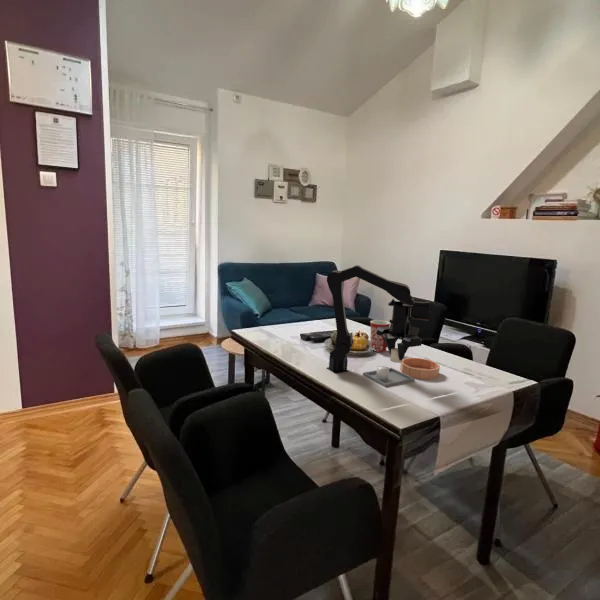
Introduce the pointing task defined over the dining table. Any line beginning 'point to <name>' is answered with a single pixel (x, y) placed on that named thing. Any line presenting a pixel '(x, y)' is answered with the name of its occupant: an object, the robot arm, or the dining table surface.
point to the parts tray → (390, 377)
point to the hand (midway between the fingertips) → (396, 358)
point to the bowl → (420, 368)
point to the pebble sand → (395, 356)
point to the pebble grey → (382, 373)
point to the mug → (376, 339)
